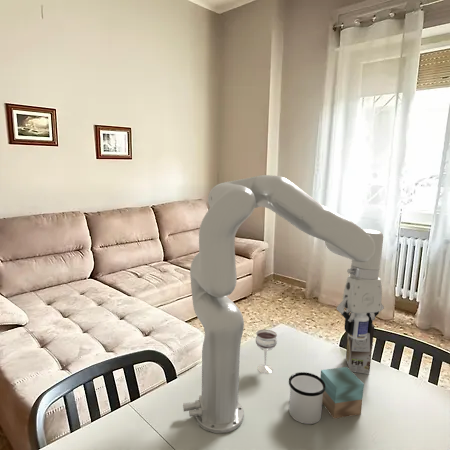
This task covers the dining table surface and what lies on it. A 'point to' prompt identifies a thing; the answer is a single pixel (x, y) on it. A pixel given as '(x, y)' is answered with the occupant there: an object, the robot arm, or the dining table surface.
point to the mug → (306, 397)
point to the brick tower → (342, 392)
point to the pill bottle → (360, 326)
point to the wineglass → (266, 346)
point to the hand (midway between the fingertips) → (357, 331)
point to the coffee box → (360, 353)
